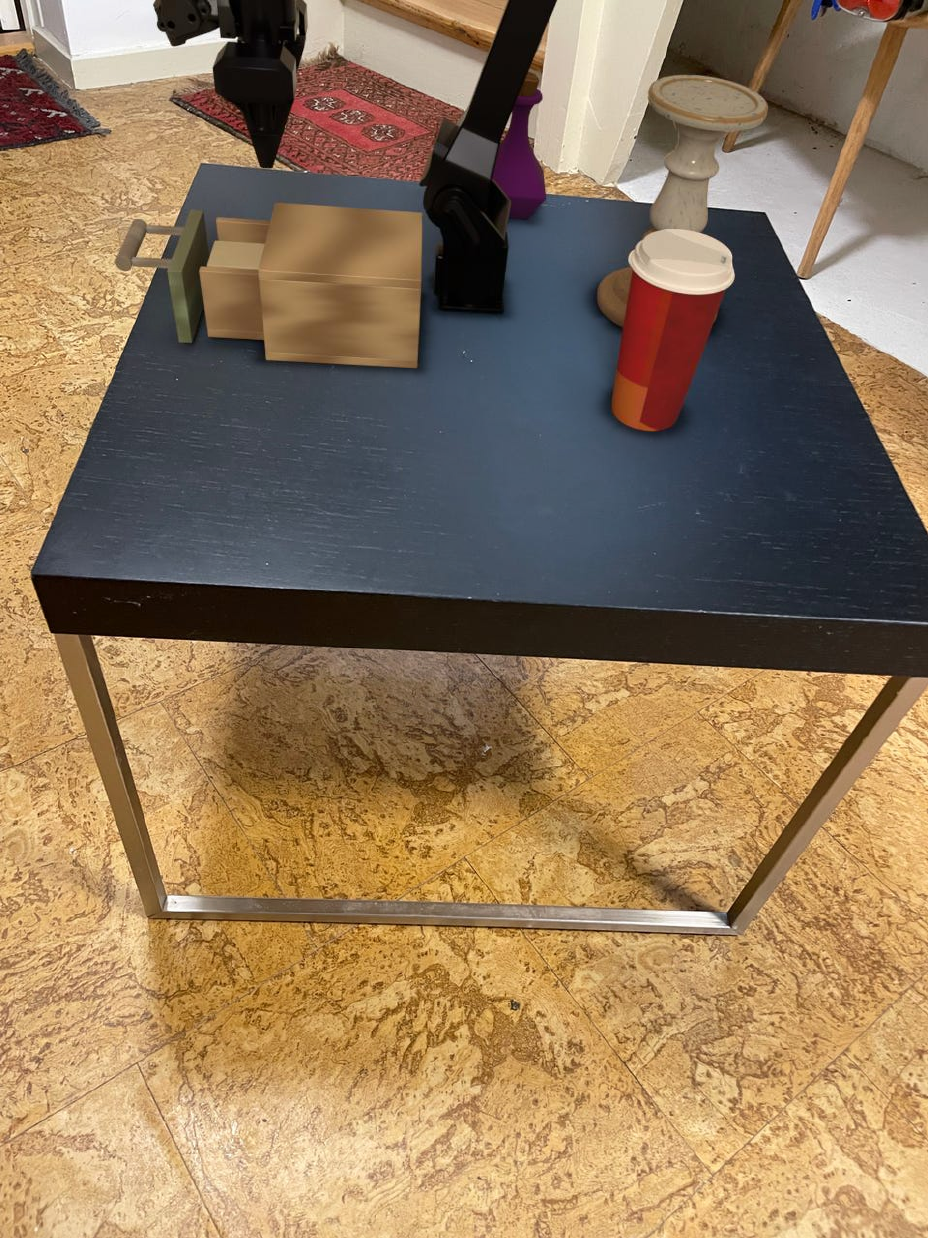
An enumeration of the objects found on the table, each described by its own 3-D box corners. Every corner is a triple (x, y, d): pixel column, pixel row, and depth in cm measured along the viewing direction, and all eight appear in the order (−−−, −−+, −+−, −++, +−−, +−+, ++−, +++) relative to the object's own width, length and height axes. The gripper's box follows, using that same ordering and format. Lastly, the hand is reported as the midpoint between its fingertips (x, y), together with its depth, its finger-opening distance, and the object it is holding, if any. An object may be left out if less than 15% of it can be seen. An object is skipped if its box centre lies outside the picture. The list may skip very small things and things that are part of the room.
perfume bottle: (542, 227, 107) (568, 50, 94) (476, 222, 107) (492, 43, 93) (539, 198, 112) (563, 25, 99) (476, 192, 112) (492, 19, 98)
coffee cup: (697, 398, 87) (746, 239, 76) (681, 449, 81) (731, 286, 70) (608, 375, 88) (643, 216, 77) (586, 423, 83) (621, 260, 72)
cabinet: (265, 359, 85) (258, 269, 79) (280, 288, 94) (274, 202, 87) (417, 368, 86) (421, 280, 80) (418, 297, 95) (422, 212, 88)
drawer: (122, 339, 84) (107, 266, 79) (148, 275, 92) (135, 205, 87) (320, 350, 85) (317, 279, 80) (329, 286, 93) (327, 218, 88)
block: (220, 287, 89) (269, 290, 90) (212, 312, 86) (263, 315, 86) (214, 239, 86) (266, 243, 86) (206, 264, 83) (259, 268, 83)
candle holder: (737, 310, 98) (804, 100, 83) (676, 355, 91) (737, 135, 76) (637, 265, 103) (684, 60, 88) (572, 305, 96) (610, 89, 81)
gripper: (171, -95, 81) (195, 102, 92) (130, -33, 68) (164, 185, 80) (303, -84, 82) (311, 109, 93) (286, -21, 69) (298, 193, 81)
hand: (271, 146), depth 87 cm, fingers open, 9 cm apart
